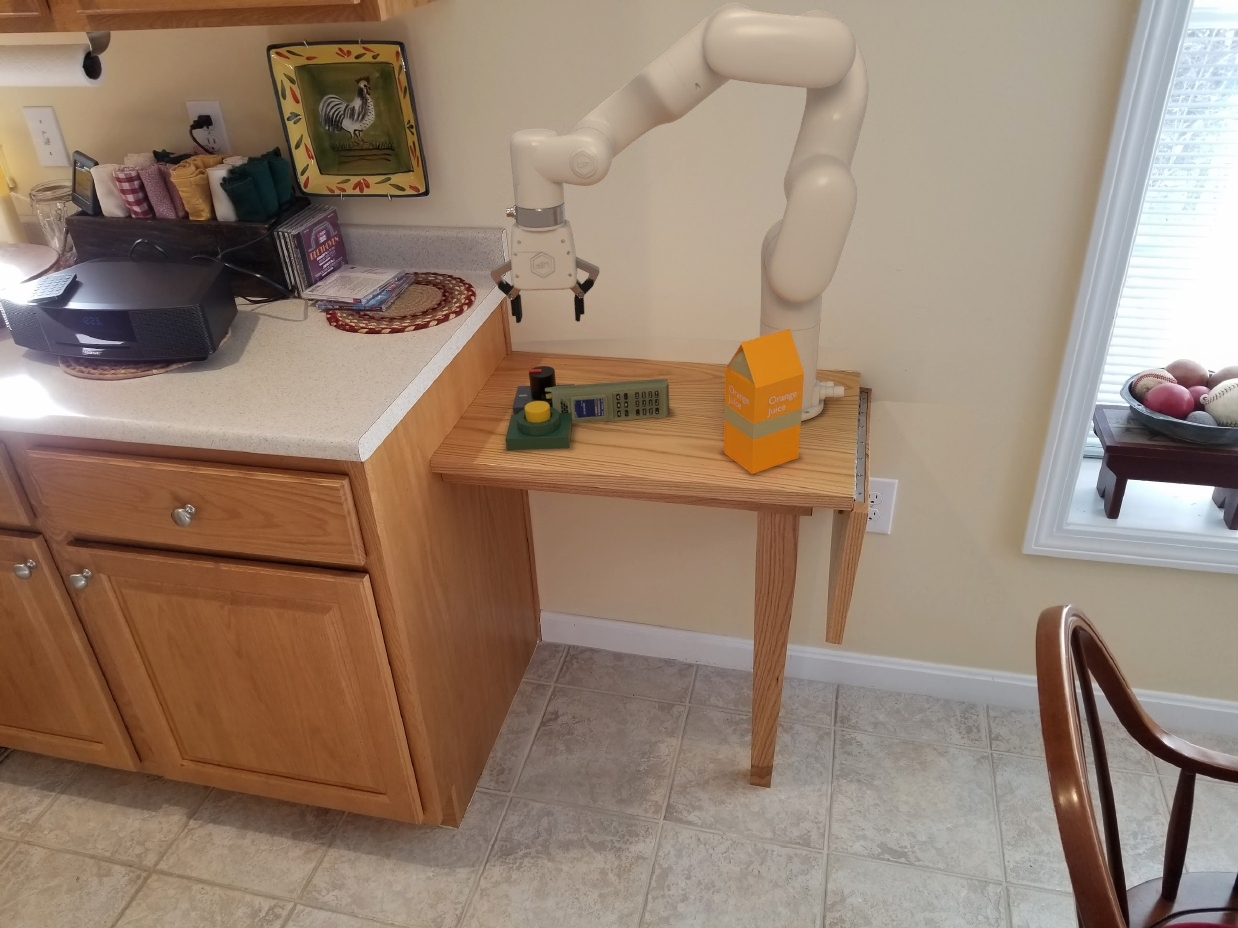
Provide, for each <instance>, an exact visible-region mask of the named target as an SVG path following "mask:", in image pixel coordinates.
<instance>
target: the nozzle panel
mask: <svg viewBox="0 0 1238 928" xmlns="http://www.w3.org/2000/svg"><path fill="white" fill-rule="evenodd" d="M569 385H575V383H568V384H567V383H566V384H556V386H569ZM534 401H538V400H534V399H533V398H532V397H531V389H530V385H518V386H517V387H516V393H515V396H514V401H513V405H512V415H517V414H518V413H519V412H521V411H522V410H523V409H525V406H526V405H527V404H528V403H530V402H534ZM544 402H547V403H551V402H552V399H551V400H547V401H544ZM551 406H552V405H551Z"/></svg>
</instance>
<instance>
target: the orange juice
mask: <svg viewBox="0 0 1238 928" xmlns="http://www.w3.org/2000/svg"><path fill="white" fill-rule="evenodd" d="M803 382H804V371H803V368H802V365H801V362H800V359H799V356H798V353H797V350H796V347H795V344H794V340H793V337H792V334H791V331H790V329H787V330H784V331H780V332H777V333H773V334H769V335H766V336H762V337H760V336H759V337H755V338H752V339H749V340H748V339H747V340H745V341H741V342H740V345H739V347H738V348H737V350H736V351H735V353H734V354H733V356H732V358H731V360H730V361H729V363H728V364H727V365H726V367H725V368H724V404H723V421H724V422H723V432H724V433H723V453H724V454H725V455H726V456H727V457H729V458H730V459H731V460H733V461H734V462H735V463H737V464H738V465H740V466H741V467H742V468H743V469H744V470H746V471H747V472H748V473H750V474H751V475H754V474H757V473H759V472H762V471H766V470H767V469H768V470H769V469H771V468H773V467H776V466H780V465H782V464H786V463H788V462H791V461H794V460H796V459H799V457H800V456H799V455H800V440H801V439H800V438H801V425H802V421H801V418H802V397H803Z"/></svg>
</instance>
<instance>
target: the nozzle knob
mask: <svg viewBox="0 0 1238 928" xmlns="http://www.w3.org/2000/svg"><path fill="white" fill-rule="evenodd" d="M528 378H529V386H530V389H531V397H532V398H533V399H534V400H538V401H547V400H551V398H549V399H546V394H548V393H550V394H552V393H551V392H546V391H545V388H549V387H555V386H556V385H557V379H556V370H555V369H554V367H552V366H550V365H549V366H548V365H539V366H534V367H532V368H531V369H528Z"/></svg>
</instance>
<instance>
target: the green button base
mask: <svg viewBox="0 0 1238 928" xmlns="http://www.w3.org/2000/svg"><path fill="white" fill-rule="evenodd" d="M550 415H551V417H550V419H549V420H547V421H544V422H536V423H532V422H528V421H527V420H526V415H525V409H523V410H522V411H521V412H519V413H518V414H517V415H513V414H511V415H510V419H509V423H508V427H507V432H506V436H505V446H506V450H507V451H526V450H557V449H559V450H560V449H570V447H571V438H572V437H571V436H572V429H573V423H572V416H571V413H560V412H559V411H558V410H556V409H555V408H553V407H550Z"/></svg>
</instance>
